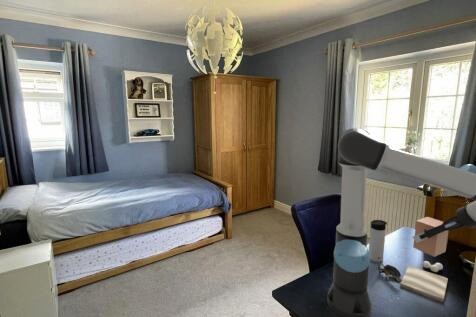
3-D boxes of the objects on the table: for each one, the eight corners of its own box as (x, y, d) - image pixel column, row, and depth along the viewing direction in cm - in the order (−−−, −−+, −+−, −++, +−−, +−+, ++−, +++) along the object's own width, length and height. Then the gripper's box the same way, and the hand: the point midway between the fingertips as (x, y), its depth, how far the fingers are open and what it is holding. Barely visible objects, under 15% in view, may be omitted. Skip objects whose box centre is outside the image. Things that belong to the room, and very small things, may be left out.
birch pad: (443, 302, 98) (443, 299, 98) (400, 286, 107) (400, 283, 107) (447, 281, 109) (447, 278, 109) (408, 268, 119) (408, 265, 119)
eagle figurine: (376, 278, 111) (401, 282, 106) (375, 260, 114) (400, 263, 108) (379, 279, 116) (403, 283, 111) (379, 262, 119) (402, 265, 114)
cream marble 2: (437, 274, 114) (438, 268, 114) (429, 271, 116) (430, 265, 116) (438, 271, 116) (439, 265, 116) (430, 268, 118) (431, 262, 118)
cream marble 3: (442, 272, 116) (442, 266, 115) (433, 269, 118) (434, 263, 117) (442, 269, 118) (443, 263, 117) (434, 266, 120) (435, 260, 119)
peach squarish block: (445, 251, 106) (449, 223, 103) (434, 256, 102) (438, 228, 100) (424, 242, 113) (427, 216, 110) (413, 247, 109) (416, 220, 107)
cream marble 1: (429, 270, 117) (430, 264, 117) (421, 267, 119) (422, 261, 119) (430, 267, 119) (431, 261, 119) (422, 264, 121) (423, 258, 121)
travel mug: (382, 265, 122) (385, 225, 118) (366, 260, 126) (369, 221, 122) (384, 259, 127) (388, 220, 123) (369, 255, 130) (372, 217, 127)
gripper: (467, 230, 86) (412, 252, 103) (497, 218, 95) (441, 240, 112) (451, 210, 90) (400, 234, 107) (480, 200, 99) (429, 223, 116)
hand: (421, 237), depth 110 cm, fingers closed on peach squarish block, 8 cm apart
